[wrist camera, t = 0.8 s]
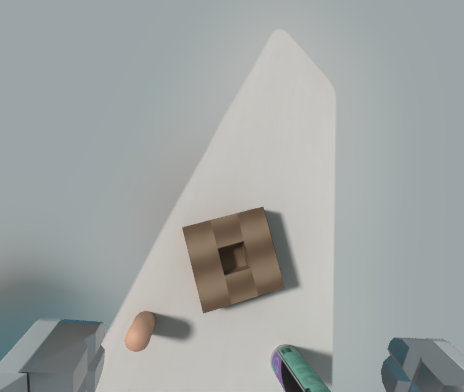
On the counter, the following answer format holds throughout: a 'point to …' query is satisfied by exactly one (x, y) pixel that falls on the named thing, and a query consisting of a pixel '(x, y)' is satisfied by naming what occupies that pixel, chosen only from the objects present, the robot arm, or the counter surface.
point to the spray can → (295, 371)
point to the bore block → (233, 259)
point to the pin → (140, 331)
